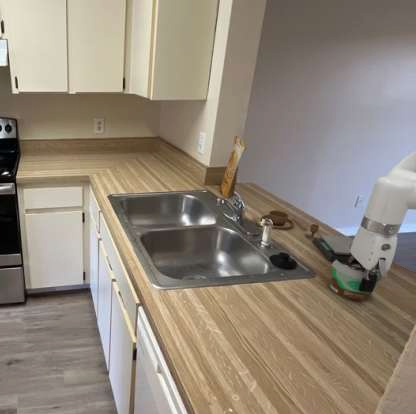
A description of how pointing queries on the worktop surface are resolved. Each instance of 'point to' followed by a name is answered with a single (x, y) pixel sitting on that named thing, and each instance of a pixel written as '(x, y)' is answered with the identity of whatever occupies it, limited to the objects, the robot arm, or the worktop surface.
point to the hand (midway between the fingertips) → (358, 282)
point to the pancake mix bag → (232, 168)
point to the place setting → (282, 218)
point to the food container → (349, 280)
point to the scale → (330, 252)
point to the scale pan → (338, 244)
